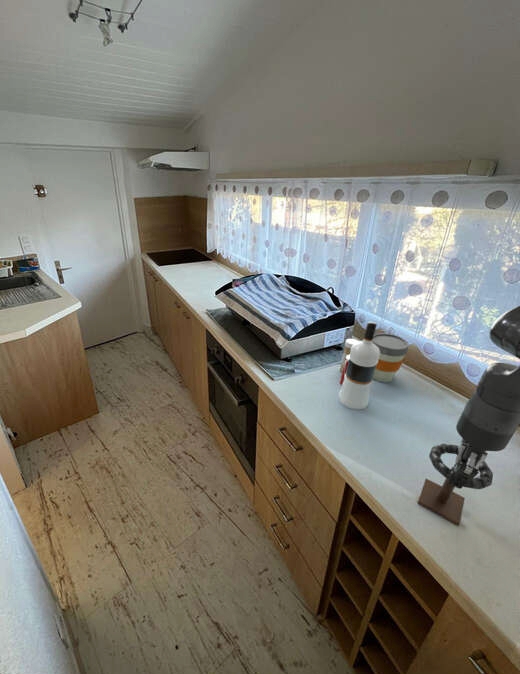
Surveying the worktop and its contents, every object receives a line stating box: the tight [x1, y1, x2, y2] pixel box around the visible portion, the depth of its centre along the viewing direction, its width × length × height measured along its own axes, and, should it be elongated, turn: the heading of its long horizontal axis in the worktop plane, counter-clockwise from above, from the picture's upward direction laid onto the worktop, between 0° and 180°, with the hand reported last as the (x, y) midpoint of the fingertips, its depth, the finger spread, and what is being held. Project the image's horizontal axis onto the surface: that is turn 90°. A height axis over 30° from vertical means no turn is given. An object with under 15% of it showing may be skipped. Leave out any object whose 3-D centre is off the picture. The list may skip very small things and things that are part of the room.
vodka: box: [338, 321, 380, 410], centre depth 97 cm, size 9×9×30 cm
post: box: [417, 466, 466, 527], centre depth 70 cm, size 8×8×11 cm
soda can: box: [339, 355, 349, 387], centre depth 109 cm, size 5×5×12 cm
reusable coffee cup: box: [372, 332, 409, 382], centre depth 114 cm, size 13×13×15 cm
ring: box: [428, 443, 494, 490], centre depth 66 cm, size 11×11×2 cm
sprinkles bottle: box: [339, 338, 359, 373], centre depth 117 cm, size 5×5×14 cm
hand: (455, 480), depth 63 cm, fingers closed on ring, 2 cm apart
